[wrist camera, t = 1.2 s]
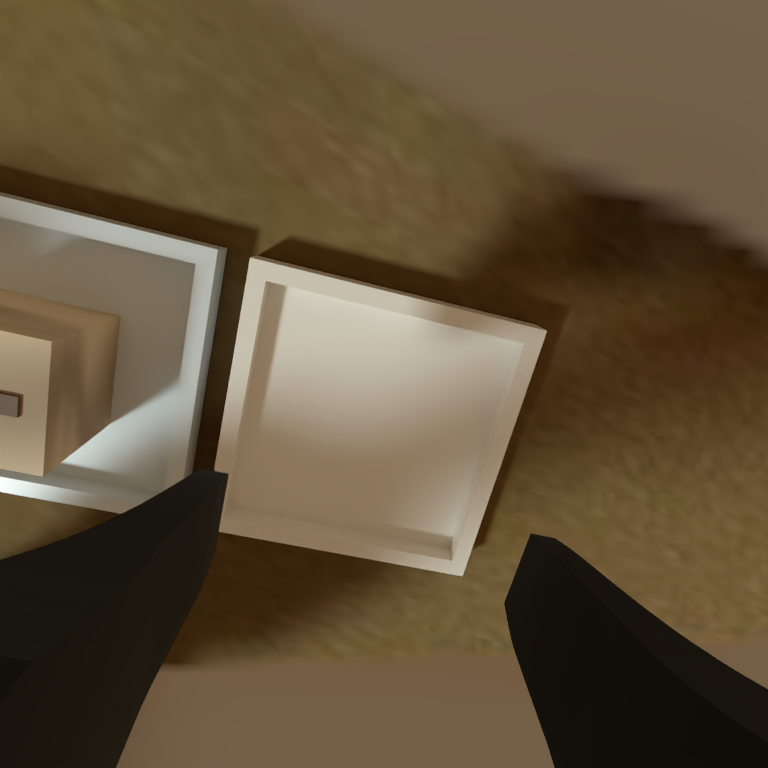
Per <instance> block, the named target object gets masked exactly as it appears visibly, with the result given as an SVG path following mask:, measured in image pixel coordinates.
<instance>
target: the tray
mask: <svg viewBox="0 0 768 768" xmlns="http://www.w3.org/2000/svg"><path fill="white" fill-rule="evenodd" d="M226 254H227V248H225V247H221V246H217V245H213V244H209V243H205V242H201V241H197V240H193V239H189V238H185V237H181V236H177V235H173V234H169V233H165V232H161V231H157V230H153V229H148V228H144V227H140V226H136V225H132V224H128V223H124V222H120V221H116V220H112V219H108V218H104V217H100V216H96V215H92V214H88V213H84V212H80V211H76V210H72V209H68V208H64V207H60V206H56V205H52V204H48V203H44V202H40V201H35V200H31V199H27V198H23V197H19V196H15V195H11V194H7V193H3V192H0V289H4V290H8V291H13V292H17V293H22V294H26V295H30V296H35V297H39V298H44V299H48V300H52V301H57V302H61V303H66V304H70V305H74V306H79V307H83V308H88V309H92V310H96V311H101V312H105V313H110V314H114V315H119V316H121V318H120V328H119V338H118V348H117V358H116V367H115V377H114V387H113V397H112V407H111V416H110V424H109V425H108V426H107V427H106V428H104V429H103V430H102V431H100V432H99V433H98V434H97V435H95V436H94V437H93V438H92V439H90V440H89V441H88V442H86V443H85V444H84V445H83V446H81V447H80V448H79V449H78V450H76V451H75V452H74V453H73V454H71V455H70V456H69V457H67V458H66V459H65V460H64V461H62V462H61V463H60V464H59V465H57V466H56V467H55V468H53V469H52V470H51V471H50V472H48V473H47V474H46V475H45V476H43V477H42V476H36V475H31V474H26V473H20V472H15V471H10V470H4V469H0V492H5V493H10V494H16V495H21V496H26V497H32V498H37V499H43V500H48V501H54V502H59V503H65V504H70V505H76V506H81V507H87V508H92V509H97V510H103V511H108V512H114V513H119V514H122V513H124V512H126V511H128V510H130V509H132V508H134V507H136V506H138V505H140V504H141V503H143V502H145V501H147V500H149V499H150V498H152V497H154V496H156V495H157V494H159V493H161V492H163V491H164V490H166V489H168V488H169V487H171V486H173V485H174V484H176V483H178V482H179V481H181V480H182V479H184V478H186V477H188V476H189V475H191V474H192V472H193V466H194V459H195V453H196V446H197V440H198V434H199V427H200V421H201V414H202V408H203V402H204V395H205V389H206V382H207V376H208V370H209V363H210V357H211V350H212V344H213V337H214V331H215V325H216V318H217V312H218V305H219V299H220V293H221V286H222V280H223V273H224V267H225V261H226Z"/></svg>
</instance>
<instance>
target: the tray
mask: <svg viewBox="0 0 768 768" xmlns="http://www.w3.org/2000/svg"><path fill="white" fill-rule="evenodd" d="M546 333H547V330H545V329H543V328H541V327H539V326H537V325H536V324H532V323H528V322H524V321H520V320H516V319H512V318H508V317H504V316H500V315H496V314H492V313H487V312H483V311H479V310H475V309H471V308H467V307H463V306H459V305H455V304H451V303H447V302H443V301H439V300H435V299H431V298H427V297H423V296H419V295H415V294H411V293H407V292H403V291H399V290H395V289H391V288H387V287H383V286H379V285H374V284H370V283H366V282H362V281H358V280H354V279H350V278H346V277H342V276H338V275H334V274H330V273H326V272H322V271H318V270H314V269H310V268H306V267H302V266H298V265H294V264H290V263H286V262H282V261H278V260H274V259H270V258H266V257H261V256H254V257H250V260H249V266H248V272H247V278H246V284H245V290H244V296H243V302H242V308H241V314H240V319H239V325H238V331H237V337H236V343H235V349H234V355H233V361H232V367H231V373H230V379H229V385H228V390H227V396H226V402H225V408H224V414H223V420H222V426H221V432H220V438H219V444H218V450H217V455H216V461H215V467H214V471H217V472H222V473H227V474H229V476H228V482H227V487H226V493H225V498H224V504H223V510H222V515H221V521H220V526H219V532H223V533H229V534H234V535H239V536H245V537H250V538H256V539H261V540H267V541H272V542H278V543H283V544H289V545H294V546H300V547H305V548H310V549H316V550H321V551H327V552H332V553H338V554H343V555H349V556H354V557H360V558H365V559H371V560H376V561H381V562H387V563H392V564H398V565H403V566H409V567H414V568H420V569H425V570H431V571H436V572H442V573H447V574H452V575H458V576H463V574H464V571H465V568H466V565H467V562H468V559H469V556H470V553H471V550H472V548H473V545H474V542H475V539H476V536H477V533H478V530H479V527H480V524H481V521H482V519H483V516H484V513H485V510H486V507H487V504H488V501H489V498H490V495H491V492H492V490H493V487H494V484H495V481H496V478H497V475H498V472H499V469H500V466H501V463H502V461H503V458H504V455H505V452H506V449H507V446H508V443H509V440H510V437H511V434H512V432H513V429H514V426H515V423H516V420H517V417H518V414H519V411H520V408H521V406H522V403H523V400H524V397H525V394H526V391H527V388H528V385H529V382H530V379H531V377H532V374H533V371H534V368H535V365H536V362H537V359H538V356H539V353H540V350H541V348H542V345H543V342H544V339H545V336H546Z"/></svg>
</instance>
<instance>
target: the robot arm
mask: <svg viewBox="0 0 768 768" xmlns="http://www.w3.org/2000/svg"><path fill="white" fill-rule="evenodd" d="M228 476H229V474H227V473H222V472H217V471H212V470H207V469H202V468H201V469H200V470H198V471H196V472H194V473H193V474H191V475H189V476H188V477H186V478H184V479H182V480H181V481H179V482H178V483H176V484H174V485H173V486H171V487H169V488H168V489H166V490H164V491H163V492H161V493H159V494H157V495H156V496H154V497H152V498H150V499H149V500H147V501H145V502H143V503H141V504H140V505H138V506H136V507H134V508H132V509H130V510H128V511H126V512H124V513H122V514H120V515H118V516H116V517H114V518H112V519H110V520H108V521H106V522H104V523H101V524H99V525H97V526H95V527H92V528H90V529H88V530H85V531H83V532H81V533H78V534H75V535H73V536H70V537H68V538H65V539H63V540H60V541H57V542H55V543H52V544H49V545H46V546H43V547H40V548H37V549H34V550H31V551H27V552H24V553H21V554H18V555H15V556H11V557H8V558H5V559H2V560H0V768H116V766H117V764H118V761H119V759H120V756H121V754H122V751H123V749H124V747H125V744H126V742H127V739H128V737H129V735H130V732H131V729H132V727H133V724H134V722H135V720H136V718H137V715H138V713H139V710H140V708H141V706H142V704H143V701H144V699H145V697H146V695H147V693H148V691H149V688H150V687H151V684H152V683H153V681H154V679H155V677H156V675H157V673H158V671H159V669H160V667H161V665H162V663H163V661H164V660H165V658H166V656H167V654H168V652H169V650H170V648H171V646H172V644H173V642H174V640H175V639H176V637H177V635H178V633H179V631H180V629H181V627H182V625H183V623H184V621H185V619H186V617H187V616H188V614H189V612H190V610H191V608H192V606H193V604H194V602H195V600H196V598H197V596H198V594H199V592H200V590H201V587H202V585H203V582H204V580H205V577H206V574H207V572H208V569H209V566H210V564H211V561H212V558H213V555H214V553H215V549H216V543H217V538H218V532H219V526H220V521H221V515H222V510H223V504H224V498H225V493H226V487H227V482H228ZM504 604H505V610H506V615H507V620H508V626H509V630H510V635H511V639H512V644H513V647H514V650H515V653H516V656H517V659H518V662H519V665H520V668H521V671H522V673H523V676H524V679H525V682H526V685H527V688H528V691H529V693H530V696H531V699H532V702H533V705H534V707H535V710H536V713H537V716H538V719H539V722H540V724H541V727H542V730H543V733H544V736H545V738H546V741H547V744H548V747H549V751H550V754H551V757H552V760H553V764H554V767H555V768H768V689H766V688H765V687H763V686H761V685H759V684H758V683H756V682H754V681H752V680H750V679H749V678H747V677H745V676H744V675H742V674H740V673H739V672H737V671H735V670H734V669H732V668H731V667H729V666H727V665H726V664H724V663H722V662H721V661H719V660H718V659H716V658H715V657H713V656H712V655H710V654H709V653H707V652H706V651H704V650H703V649H701V648H700V647H698V646H697V645H695V644H694V643H692V642H691V641H689V640H688V639H686V638H685V637H683V636H682V635H680V634H679V633H678V632H676V631H675V630H673V629H672V628H671V627H669V626H668V625H667V624H665V623H664V622H663V621H661V620H660V619H659V618H657V617H656V616H655V615H653V614H652V613H650V612H649V611H648V610H646V609H645V608H644V607H643V606H641V605H640V604H639V603H637V602H636V601H635V600H634V599H632V598H631V597H630V596H629V595H627V594H626V593H625V592H624V591H622V590H621V589H620V588H619V587H617V586H616V585H615V584H614V583H612V582H611V581H610V580H609V579H607V578H606V577H605V576H604V575H603V574H601V573H600V572H599V571H598V570H596V569H595V568H594V567H593V566H591V565H590V564H589V563H588V562H586V561H585V560H584V559H583V558H581V557H580V556H579V555H578V554H576V553H575V552H574V551H572V550H571V549H570V548H568V547H567V546H566V545H564V544H563V543H561V542H560V541H558V540H557V539H555V538H551V537H546V536H540V535H535V534H530V537H529V540H528V542H527V545H526V547H525V550H524V553H523V555H522V558H521V561H520V563H519V566H518V568H517V571H516V574H515V576H514V579H513V582H512V584H511V587H510V589H509V592H508V595H507V597H506V600H505V603H504Z"/></svg>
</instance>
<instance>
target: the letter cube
mask: <svg viewBox="0 0 768 768" xmlns="http://www.w3.org/2000/svg"><path fill="white" fill-rule="evenodd" d="M120 318H121V316H119V315H114V314H110V313H105V312H101V311H96V310H92V309H88V308H83V307H79V306H74V305H70V304H66V303H61V302H57V301H52V300H48V299H44V298H39V297H35V296H30V295H26V294H22V293H17V292H13V291H8V290H4V289H0V469H4V470H10V471H15V472H20V473H26V474H31V475H36V476H42V477H43V476H45V475H46V474H47V473H48V472H50V471H51V470H52V469H53V468H55V467H56V466H57V465H59V464H60V463H61V462H62V461H64V460H65V459H66V458H67V457H69V456H70V455H71V454H73V453H74V452H75V451H76V450H78V449H79V448H80V447H81V446H83V445H84V444H85V443H86V442H88V441H89V440H90V439H92V438H93V437H94V436H95V435H97V434H98V433H99V432H100V431H102V430H103V429H104V428H106V427H107V426H108V425H109V424H110V416H111V407H112V397H113V387H114V377H115V367H116V358H117V348H118V338H119V328H120Z"/></svg>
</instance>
